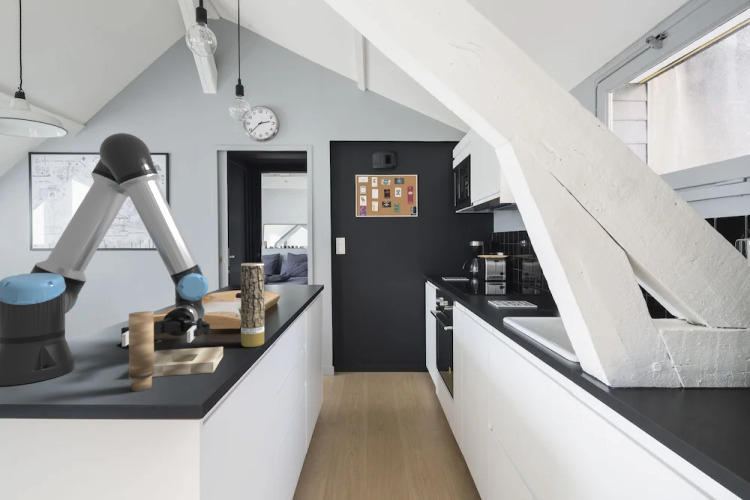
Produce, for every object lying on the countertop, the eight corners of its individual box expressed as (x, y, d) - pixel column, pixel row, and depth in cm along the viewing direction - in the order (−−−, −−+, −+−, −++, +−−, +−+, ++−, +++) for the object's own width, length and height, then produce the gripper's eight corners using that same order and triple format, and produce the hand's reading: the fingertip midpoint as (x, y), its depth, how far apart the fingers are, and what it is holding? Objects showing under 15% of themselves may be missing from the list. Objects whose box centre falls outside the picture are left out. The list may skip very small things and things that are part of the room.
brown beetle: (148, 340, 123) (148, 329, 123) (164, 343, 119) (164, 331, 119) (112, 348, 113) (112, 336, 113) (128, 351, 109) (128, 339, 109)
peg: (124, 393, 77) (124, 315, 77) (133, 384, 82) (133, 311, 82) (150, 391, 78) (149, 314, 78) (157, 383, 83) (157, 310, 83)
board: (129, 378, 86) (128, 367, 86) (150, 360, 99) (150, 350, 99) (213, 372, 90) (213, 362, 90) (223, 355, 103) (223, 346, 103)
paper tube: (268, 345, 115) (268, 263, 114) (246, 349, 110) (246, 264, 110) (258, 341, 120) (258, 262, 119) (237, 344, 115) (237, 263, 115)
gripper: (227, 331, 111) (214, 351, 90) (132, 335, 105) (95, 358, 84) (227, 305, 111) (214, 320, 90) (132, 309, 105) (95, 325, 84)
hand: (156, 338), depth 87 cm, fingers open, 13 cm apart
